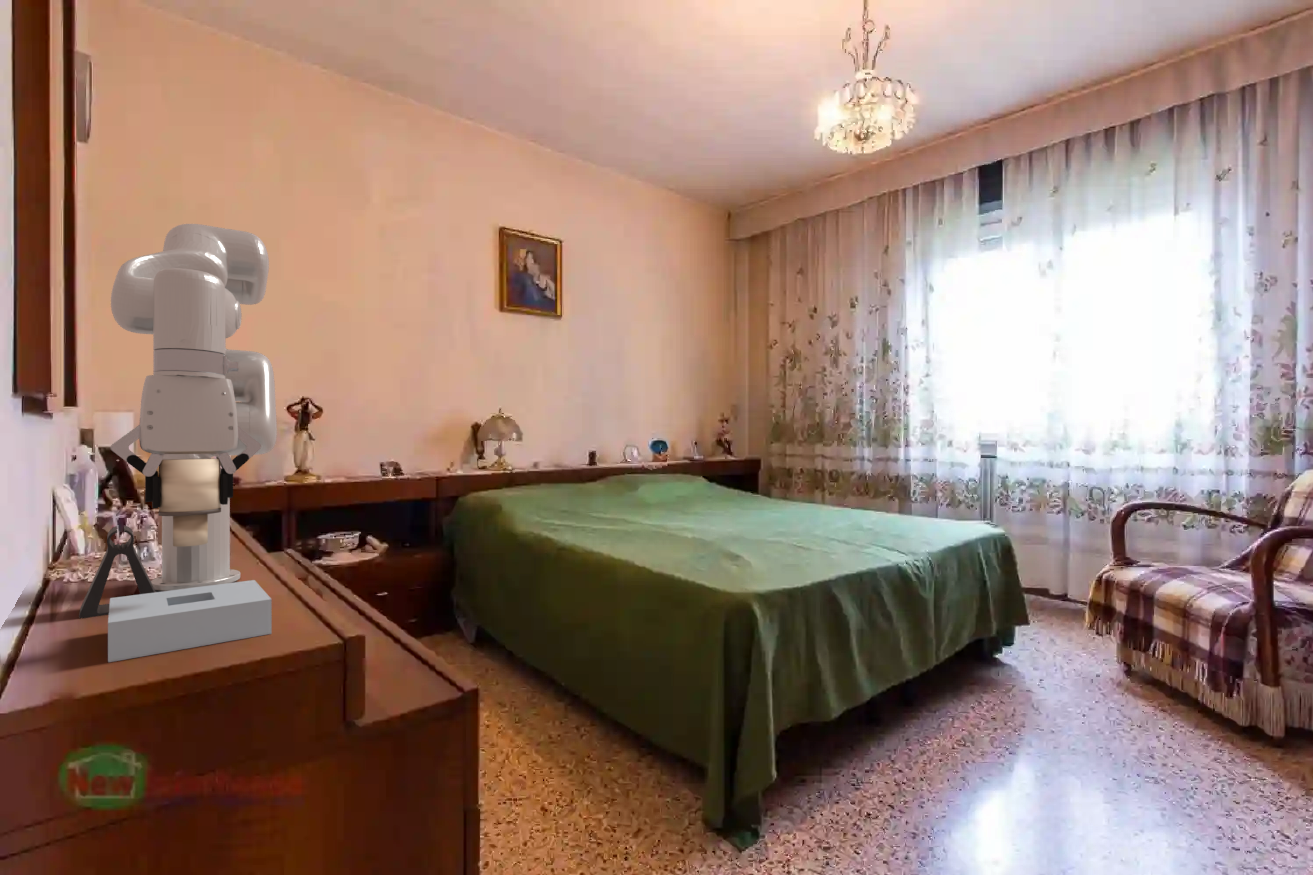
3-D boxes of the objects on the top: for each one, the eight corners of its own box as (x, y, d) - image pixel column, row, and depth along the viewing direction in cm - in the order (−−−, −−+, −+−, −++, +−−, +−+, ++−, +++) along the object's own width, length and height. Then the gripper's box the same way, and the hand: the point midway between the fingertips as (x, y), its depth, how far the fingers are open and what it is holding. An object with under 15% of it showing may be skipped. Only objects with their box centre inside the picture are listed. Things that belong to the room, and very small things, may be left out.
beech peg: (157, 544, 81) (157, 459, 81) (218, 538, 86) (218, 458, 86) (159, 550, 76) (159, 460, 77) (224, 544, 81) (223, 458, 81)
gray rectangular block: (110, 632, 82) (110, 598, 82) (254, 610, 92) (254, 579, 92) (108, 662, 71) (107, 622, 71) (271, 633, 81) (271, 599, 81)
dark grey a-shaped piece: (78, 618, 88) (78, 533, 88) (80, 609, 92) (80, 528, 92) (160, 607, 94) (160, 527, 94) (158, 599, 98) (158, 523, 98)
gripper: (263, 374, 90) (263, 499, 90) (102, 365, 79) (101, 508, 78) (272, 369, 84) (273, 503, 84) (100, 358, 73) (100, 513, 73)
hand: (190, 504), depth 81 cm, fingers closed on beech peg, 6 cm apart
